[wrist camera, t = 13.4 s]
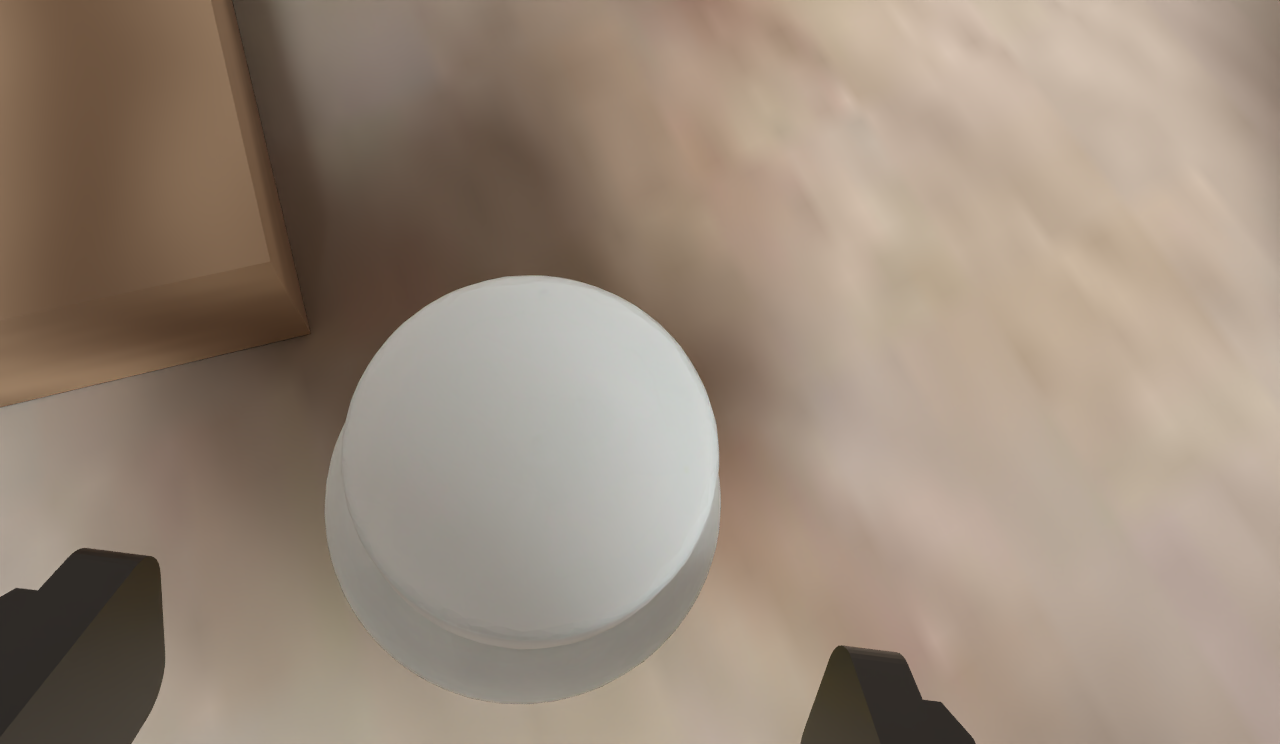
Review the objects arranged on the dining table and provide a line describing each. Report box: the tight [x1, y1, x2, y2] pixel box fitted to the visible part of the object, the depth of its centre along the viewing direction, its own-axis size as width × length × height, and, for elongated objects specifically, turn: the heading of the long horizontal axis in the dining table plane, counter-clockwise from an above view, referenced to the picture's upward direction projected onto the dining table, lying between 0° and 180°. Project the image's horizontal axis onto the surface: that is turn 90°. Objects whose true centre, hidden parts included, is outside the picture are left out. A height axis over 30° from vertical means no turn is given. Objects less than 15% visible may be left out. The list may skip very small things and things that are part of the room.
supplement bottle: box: [324, 275, 721, 704], centre depth 14 cm, size 5×5×10 cm
